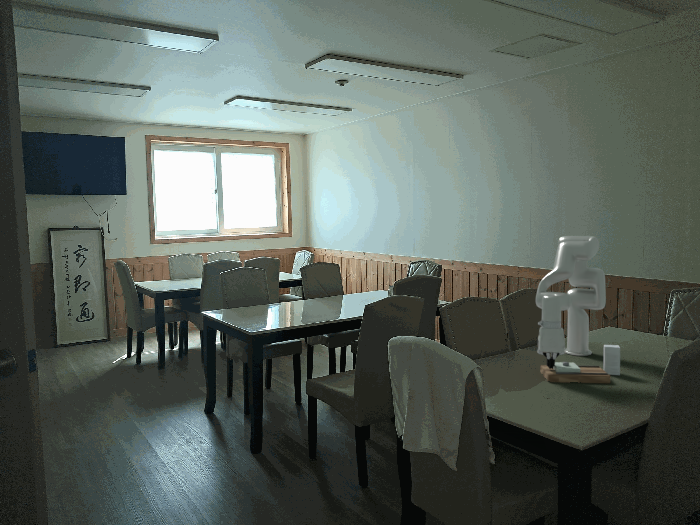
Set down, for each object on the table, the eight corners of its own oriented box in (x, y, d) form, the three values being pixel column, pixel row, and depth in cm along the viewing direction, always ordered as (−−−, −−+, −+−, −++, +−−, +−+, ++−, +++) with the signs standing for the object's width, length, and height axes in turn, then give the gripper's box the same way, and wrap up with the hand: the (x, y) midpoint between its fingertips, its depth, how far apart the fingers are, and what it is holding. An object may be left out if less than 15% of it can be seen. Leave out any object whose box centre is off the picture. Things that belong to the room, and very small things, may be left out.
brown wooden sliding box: (540, 371, 230) (540, 363, 230) (598, 373, 227) (598, 364, 227) (548, 382, 216) (548, 373, 216) (610, 383, 213) (610, 374, 213)
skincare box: (618, 372, 227) (619, 345, 226) (620, 375, 223) (620, 347, 222) (602, 371, 229) (603, 344, 228) (604, 374, 225) (604, 346, 224)
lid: (551, 366, 227) (551, 359, 227) (573, 367, 226) (574, 359, 226) (557, 373, 218) (557, 365, 218) (580, 373, 217) (580, 365, 217)
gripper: (534, 326, 218) (533, 370, 220) (572, 326, 216) (571, 370, 218) (530, 322, 226) (530, 365, 227) (567, 323, 224) (566, 365, 225)
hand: (550, 367), depth 223 cm, fingers closed
